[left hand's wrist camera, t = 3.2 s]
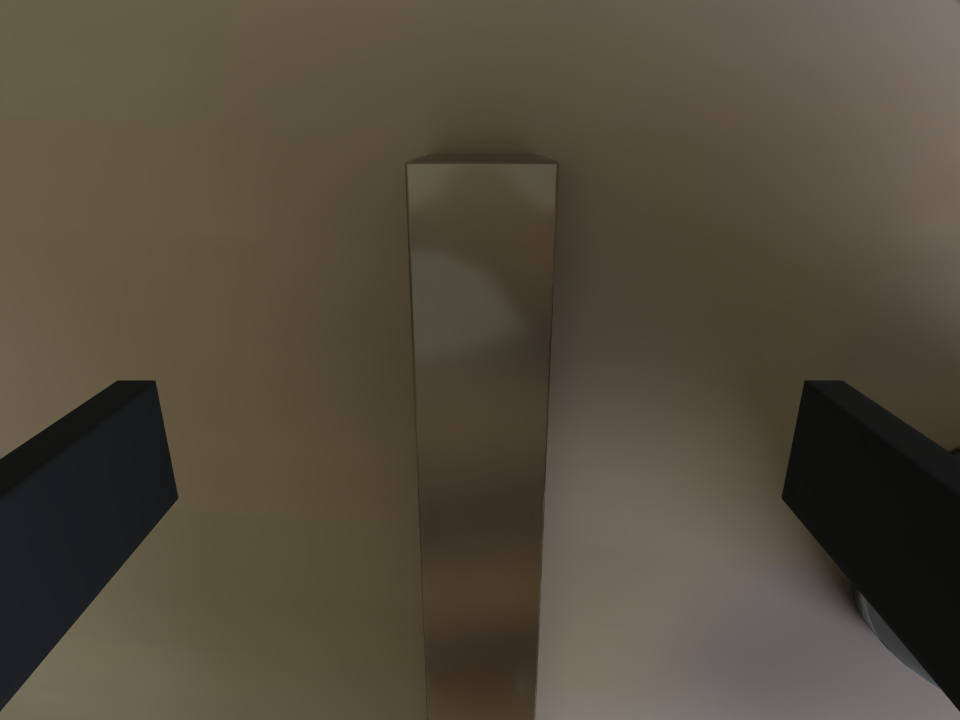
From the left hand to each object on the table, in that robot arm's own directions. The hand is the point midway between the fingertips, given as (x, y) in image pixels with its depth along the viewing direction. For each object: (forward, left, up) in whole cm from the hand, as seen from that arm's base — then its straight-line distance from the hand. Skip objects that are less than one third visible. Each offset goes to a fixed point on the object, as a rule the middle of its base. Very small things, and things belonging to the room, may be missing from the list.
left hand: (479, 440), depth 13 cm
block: (-22, +10, -18) cm, 30 cm away
